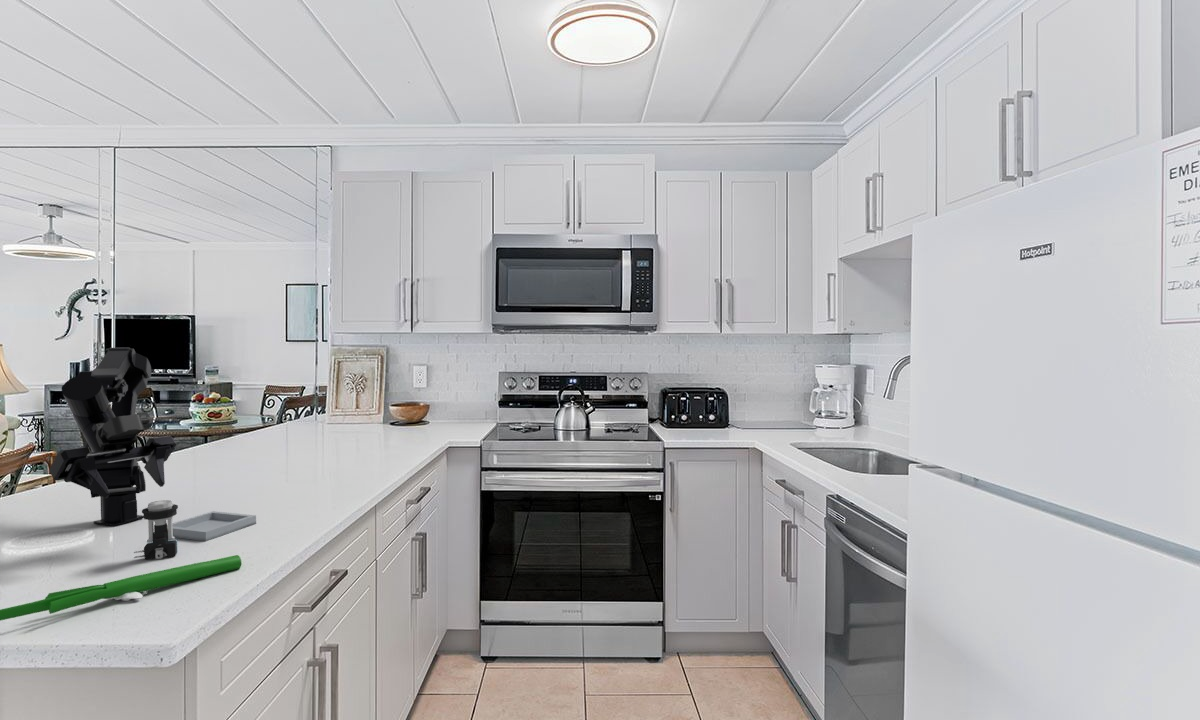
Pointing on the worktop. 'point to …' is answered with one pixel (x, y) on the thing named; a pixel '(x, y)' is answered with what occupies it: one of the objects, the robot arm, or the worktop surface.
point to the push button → (160, 530)
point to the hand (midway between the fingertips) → (136, 490)
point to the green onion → (123, 587)
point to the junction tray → (211, 525)
